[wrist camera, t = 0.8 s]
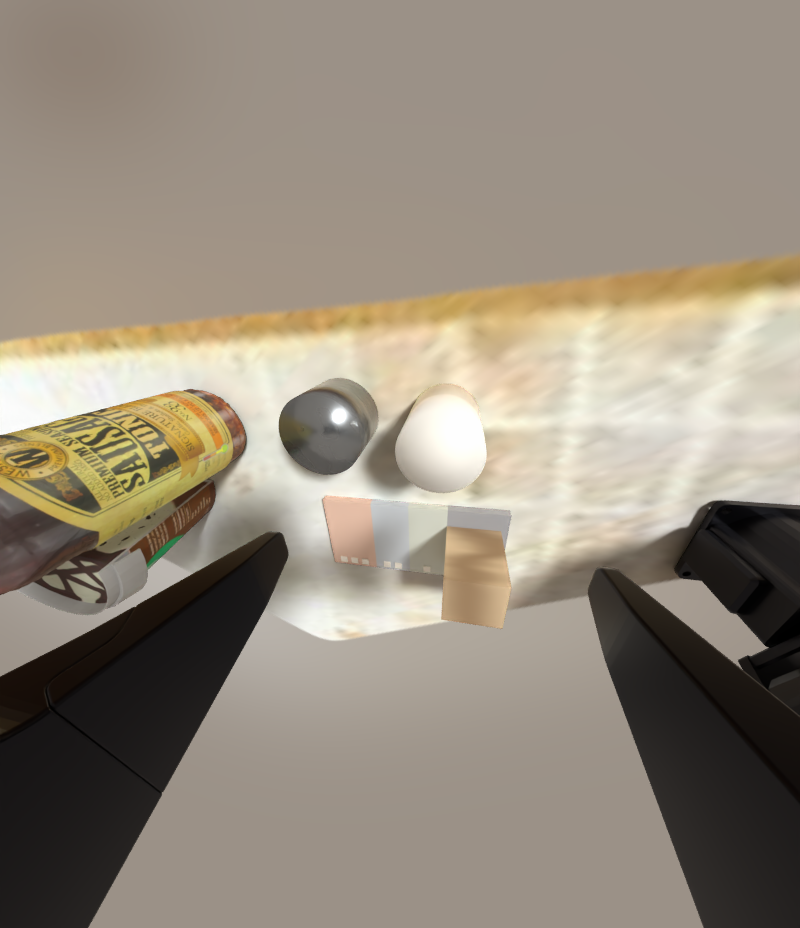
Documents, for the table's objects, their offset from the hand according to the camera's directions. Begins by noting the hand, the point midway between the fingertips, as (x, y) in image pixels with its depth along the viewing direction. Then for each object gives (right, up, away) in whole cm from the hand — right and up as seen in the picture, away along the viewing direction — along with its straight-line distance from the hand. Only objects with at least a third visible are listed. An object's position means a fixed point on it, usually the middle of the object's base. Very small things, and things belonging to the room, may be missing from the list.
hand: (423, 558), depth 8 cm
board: (0, -3, +16) cm, 16 cm away
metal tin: (-5, +6, +12) cm, 14 cm away
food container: (-22, -1, +19) cm, 29 cm away
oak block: (+5, -4, +14) cm, 16 cm away
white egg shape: (+2, +6, +10) cm, 12 cm away
